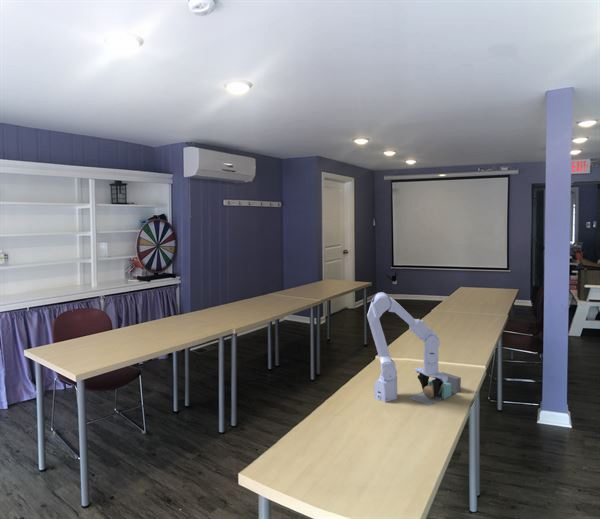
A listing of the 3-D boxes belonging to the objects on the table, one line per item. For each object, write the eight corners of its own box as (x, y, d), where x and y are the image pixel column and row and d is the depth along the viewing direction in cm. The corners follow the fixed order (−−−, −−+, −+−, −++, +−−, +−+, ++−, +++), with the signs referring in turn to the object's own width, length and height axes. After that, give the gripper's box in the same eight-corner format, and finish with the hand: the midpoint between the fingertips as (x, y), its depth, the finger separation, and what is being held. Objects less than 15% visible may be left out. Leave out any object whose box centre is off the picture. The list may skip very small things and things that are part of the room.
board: (427, 407, 178) (427, 405, 178) (407, 399, 186) (407, 397, 186) (457, 394, 190) (457, 393, 190) (437, 387, 198) (437, 386, 198)
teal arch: (443, 398, 184) (444, 386, 184) (427, 392, 191) (427, 381, 190) (451, 395, 187) (451, 383, 187) (434, 390, 194) (435, 378, 193)
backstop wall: (456, 394, 191) (456, 379, 190) (438, 387, 198) (438, 373, 197) (460, 392, 192) (460, 377, 192) (442, 386, 200) (442, 372, 199)
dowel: (432, 399, 183) (432, 388, 182) (423, 396, 186) (423, 384, 186) (444, 394, 187) (444, 383, 187) (435, 391, 191) (435, 380, 191)
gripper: (452, 363, 181) (451, 396, 182) (422, 355, 192) (422, 386, 194) (441, 367, 177) (441, 401, 178) (411, 358, 188) (411, 390, 189)
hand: (430, 393), depth 185 cm, fingers closed on dowel, 5 cm apart
